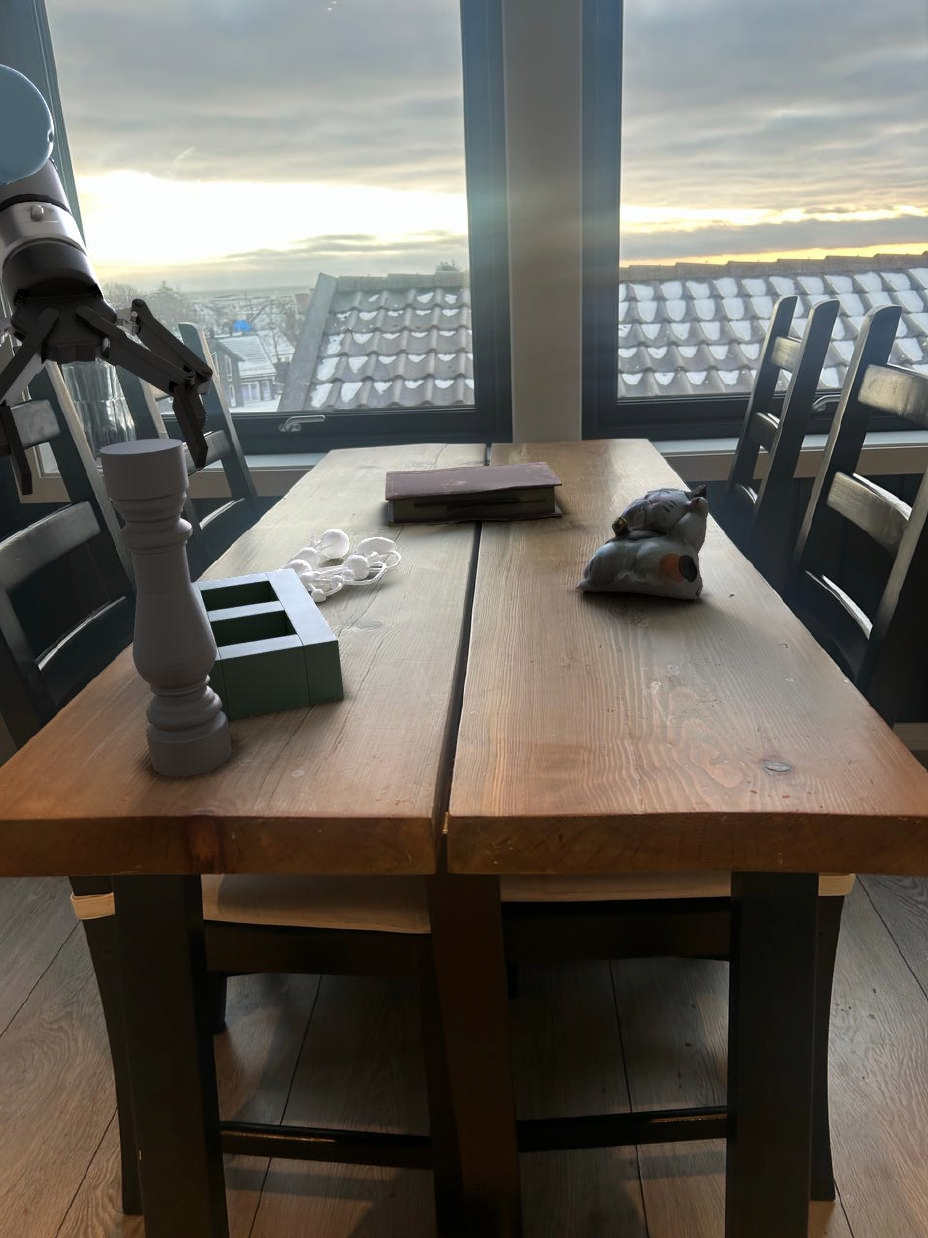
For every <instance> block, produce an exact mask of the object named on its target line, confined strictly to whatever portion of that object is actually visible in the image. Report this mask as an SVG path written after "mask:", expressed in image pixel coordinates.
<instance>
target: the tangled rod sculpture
mask: <svg viewBox="0 0 928 1238" xmlns="http://www.w3.org/2000/svg"><path fill="white" fill-rule="evenodd" d="M310 539H311V540H310V543H309V544H308V545H307V546H304V547H303V548H302V549H301V550H300V551H298V553H297V554H295V555H293V556H292V557H291V558H290V559H289V560H288V561H287V563H286V564H284V565H282V566H280V567H279V568H276V570H275V571H278V570H285V569H291V568H293V570H294V571H295V573H296V574H297V576H298V578H299V579H300V581H301V582H302V584H303V585H304V587H305V589H306V590H307V592H308V593H309V592H311V593H310V597H311V598H312V600H313V601H314V603H320V602H324V601H325V600H326V598H327V597H328V596H330V595H333V594H335V593H337V592H339V591H340V590H342V589H343V588H344V586H345V585H348V586H364V585H365V586H367V585H371V584H374V583H376V582H378V581H379V580H380V579H381V578H382V576H383V575H384V573H386V572H388V571H392V570H395V569H397V568H398V567H400V566H401V564H402V560H403V559H402V555H400V553H398V552H397V551H396V549H397V544H396V542H395V541H393V540H391V539H388V538H384V537H380V536H375V537H374V536H373V537H370V538H365V539H363V540H362V541H360V542H359V544H358V545H357V546H356V549H355V550H353V552H351V553H350V554H349V555H348V556H347V557H346V558H345V559H344V560H343V562H342V563H341V564H338V565H332V566H324V567H318V566H319V564H320V562H321V561H320V560H321V557H320V553H322V554H323V555H324V556H325V557H326V558H329V559H332V560H336V559H341V558H342V557H344V556H345V555H347V553H348V551H349V550H350V539H349V537H348V535H347V533H345V532H344V531H343V530H341V529H337V528H331V529H328V530H326V531H324V532H323V534H322V535H321V537H320V539H319V540H318V541H316V540H317V536H316V535H312V536H311V537H310ZM317 548H319V549H318V550H317ZM386 556H395V557H396V558H397V562H396V563H394V564H393V565H390V566H387V564H386V563H384V562H382V561H381V560H382V559H383V558H385V557H386ZM317 567H318V568H317ZM375 567H379V568H375ZM370 573H377V574H376V575H375V577H373V578H371V579H366V578H367V577H368V576H369V574H370ZM338 574H340V575H338ZM328 577H331V578H329V579H327V578H328ZM325 578H326V579H325ZM365 579H366V580H365ZM317 585H327V586H329V587H330V588H331V590H328V591H326V592H325V591H323V590H322V589H320V588H318V589H316V586H317Z"/></svg>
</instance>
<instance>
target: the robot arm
mask: <svg viewBox="0 0 928 1238" xmlns="http://www.w3.org/2000/svg"><path fill="white" fill-rule="evenodd" d="M54 129H55V128H54V121H53V118H52V114H51V110H50V109H49V106H48V104H47V101H46V100H45V98H44V96H43V94H41V91H40V90H39V89H38V88H37V87H36V86H35V84H34V83H32V81H30V79H29V78H27V77H26V76H25V75H24V74H23V73H22V72H20V71H18V70H16V69H14V68H12V67H10V66H8V65H4V64H1V63H0V280H1V283H2V287H3V290H4V293H5V296H6V299H7V302H8V305H9V308H10V311H11V316H10V317H0V348H1V347H2V345H3V344H4V343H5V341H6V338H7V337H8V336H10V335H12V336H13V337H14V338H15V339H16V340H17V341H19V342H20V343H21V345H20V347H19V349H18V350H17V351H16V353H15V354H14V355H13V357H12V358H11V359H10V361H9V362H8V363H7V365H6V366H5V367H4V368H3V370H2V371H1V372H0V458H1V457H8V456H9V458H10V462H11V464H12V467H13V470H14V473H15V476H16V477H15V478H16V480H17V483H18V487H19V489H20V493H21V496H30V495H33V494H34V492H33V473H32V470H31V467H30V463H29V461H28V457H27V455H26V451H25V449H24V446H23V442H22V439H21V437H20V433H19V430H18V428H17V423H16V420H15V418H14V415H13V414H14V413H13V411H12V408H13V406H14V405H15V403H16V402H17V400H18V399H19V397H20V396H21V395H22V394H23V392H24V391H25V389H27V387H28V386H29V384H30V382H32V380H33V378H34V377H35V376H36V375H39V374H40V373H41V372H42V371H43V370H44V368H45V366H46V365H47V364H48V363H49V362H54V363H56V366H61V365H68V364H71V363H75V362H79V363H80V362H82V363H92V362H96V359H97V358H98V359H100V360H102V361H103V362H105V363H107V364H109V365H110V366H113V367H117V366H118V367H121V368H122V369H124V370H126V371H127V372H129V373H131V374H132V375H134V376H136V377H137V378H139V379H140V380H143V381H144V382H146V383H148V384H149V385H151V386H153V387H155V388H156V389H157V390H159V391H161V392H163V393H164V394H166V395H168V396H169V397H170V398H172V405H171V408H172V411H173V413H174V416H175V418H176V421H177V424H178V426H179V428H180V431H181V434H182V436H183V439H184V442H185V444H186V446H187V449H188V452H189V454H190V457H191V459H192V462H193V465H194V467H195V469H203V468H206V463H207V458H208V453H209V445H208V443H207V440H206V437H205V435H204V432H203V430H205V425H206V422H207V421H206V420H207V412H206V409H205V406H204V404H203V402H202V399H201V396H207V395H209V394H210V391H211V388H212V382H213V375H214V370H213V369H212V368H211V367H210V366H209V365H208V364H207V363H206V362H205V361H204V360H203V359H201V357H199V356H198V355H197V354H196V353H195V352H194V351H193V350H191V349H190V348H189V347H188V346H187V345H186V344H184V343H183V342H182V341H181V340H180V339H179V338H178V337H177V336H176V335H175V334H173V333H172V332H171V331H170V330H169V329H168V328H166V327H165V326H164V325H163V324H162V323H161V322H160V321H159V320H158V319H156V317H154V315H153V313H152V312H151V309H150V308H149V306H148V304H147V302H146V301H145V300H144V299H143V298H134V299H132V300H131V306H129V307H124V308H118V309H114V307H113V306H111V305H110V304H109V303H108V302H107V301H106V299H105V297H104V294H103V290H102V289H101V288H102V287H101V285H100V283H99V280H98V277H97V275H96V272H95V270H94V267H93V265H92V262H91V261H90V257H89V255H88V254H89V253H88V252H87V249H86V246H85V244H84V241H83V239H82V236H81V234H80V231H79V228H78V226H77V224H76V221H75V218H74V216H73V213H72V209H71V207H70V204H69V202H68V201H69V200H68V199H67V195H66V193H65V189H64V187H63V184H62V181H61V179H60V173H59V170H58V167H57V165H56V163H55V160H54V159H53V158H52V157H51V154H52V151H53V147H54V142H55V140H54V139H55V138H54V135H55V130H54ZM120 327H123V328H125V329H126V330H127V331H128V332H129V335H130V336H132V337H134V336H136V337H137V338H138V340H139V341H140V342H141V343H142V344H143V345H141V344H140V343H138V342H136V341H135V340H133V339H131V338H129V336H128V335H127V333H126V331H124V329H122V328H120ZM144 346H145V347H144ZM200 395H201V396H200Z"/></svg>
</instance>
